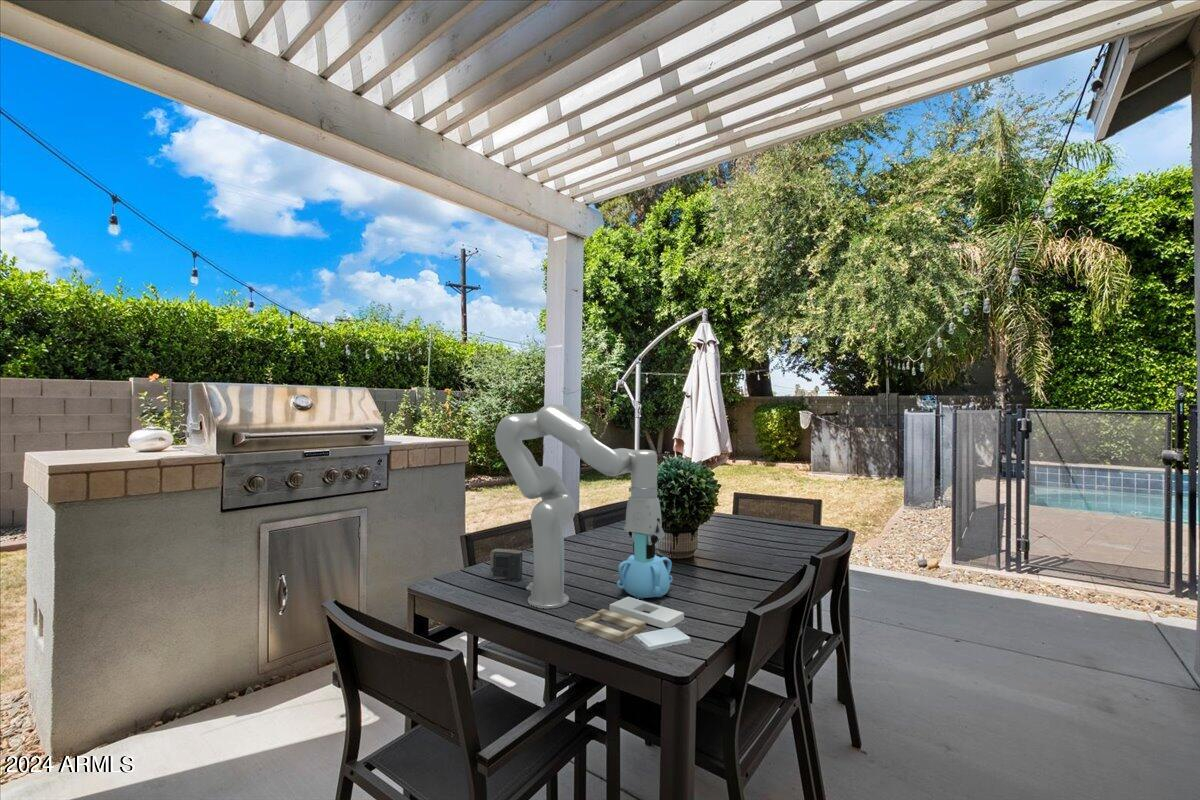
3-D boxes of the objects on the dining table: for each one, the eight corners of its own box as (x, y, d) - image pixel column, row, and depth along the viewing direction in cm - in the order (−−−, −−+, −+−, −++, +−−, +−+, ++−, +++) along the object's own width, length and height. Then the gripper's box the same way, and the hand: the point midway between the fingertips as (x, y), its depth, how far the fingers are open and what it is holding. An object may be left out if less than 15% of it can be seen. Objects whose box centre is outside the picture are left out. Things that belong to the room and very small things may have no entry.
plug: (634, 560, 159) (634, 532, 159) (642, 557, 162) (642, 530, 162) (645, 563, 156) (645, 535, 156) (653, 560, 159) (653, 532, 159)
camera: (524, 578, 193) (524, 549, 193) (517, 583, 188) (518, 553, 188) (494, 575, 196) (495, 547, 197) (487, 580, 191) (487, 551, 191)
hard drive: (674, 626, 150) (633, 633, 145) (690, 637, 142) (648, 645, 137) (674, 632, 150) (633, 639, 145) (690, 644, 142) (648, 652, 137)
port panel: (609, 611, 163) (609, 604, 163) (627, 603, 170) (627, 596, 170) (666, 629, 150) (666, 622, 150) (684, 619, 157) (684, 612, 157)
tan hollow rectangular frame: (575, 627, 151) (575, 621, 151) (603, 615, 160) (603, 608, 160) (618, 643, 141) (618, 636, 141) (645, 628, 150) (645, 622, 150)
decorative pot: (610, 596, 176) (610, 553, 176) (634, 582, 190) (634, 542, 190) (656, 606, 167) (656, 561, 167) (678, 591, 181) (678, 549, 181)
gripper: (613, 491, 162) (613, 554, 162) (660, 497, 151) (660, 564, 151) (629, 488, 168) (629, 549, 167) (675, 494, 157) (675, 559, 156)
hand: (644, 555), depth 159 cm, fingers closed on plug, 3 cm apart
